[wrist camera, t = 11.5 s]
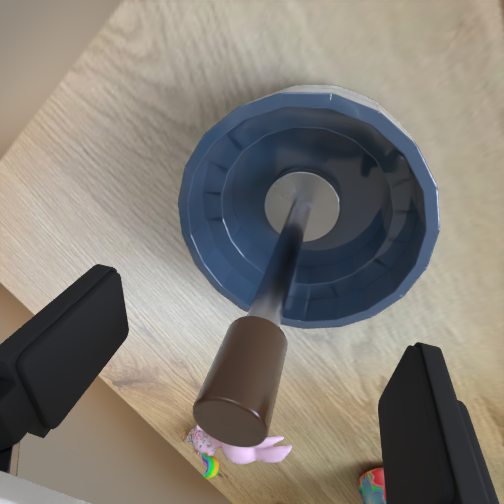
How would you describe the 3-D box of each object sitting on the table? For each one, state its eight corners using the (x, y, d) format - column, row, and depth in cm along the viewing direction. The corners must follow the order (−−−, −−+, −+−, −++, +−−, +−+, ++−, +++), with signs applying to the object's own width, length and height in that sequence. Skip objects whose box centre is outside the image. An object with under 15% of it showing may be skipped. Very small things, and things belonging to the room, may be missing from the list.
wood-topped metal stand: (254, 204, 21) (119, 406, 9) (299, 149, 19) (197, 327, 6) (307, 246, 22) (248, 491, 10) (357, 198, 19) (366, 448, 7)
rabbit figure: (213, 437, 42) (308, 443, 33) (189, 487, 38) (291, 511, 28) (182, 407, 40) (275, 405, 31) (154, 456, 36) (251, 470, 27)
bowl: (179, 205, 24) (143, 236, 20) (293, 25, 16) (273, 15, 12) (315, 310, 25) (308, 359, 21) (473, 189, 18) (509, 228, 14)
